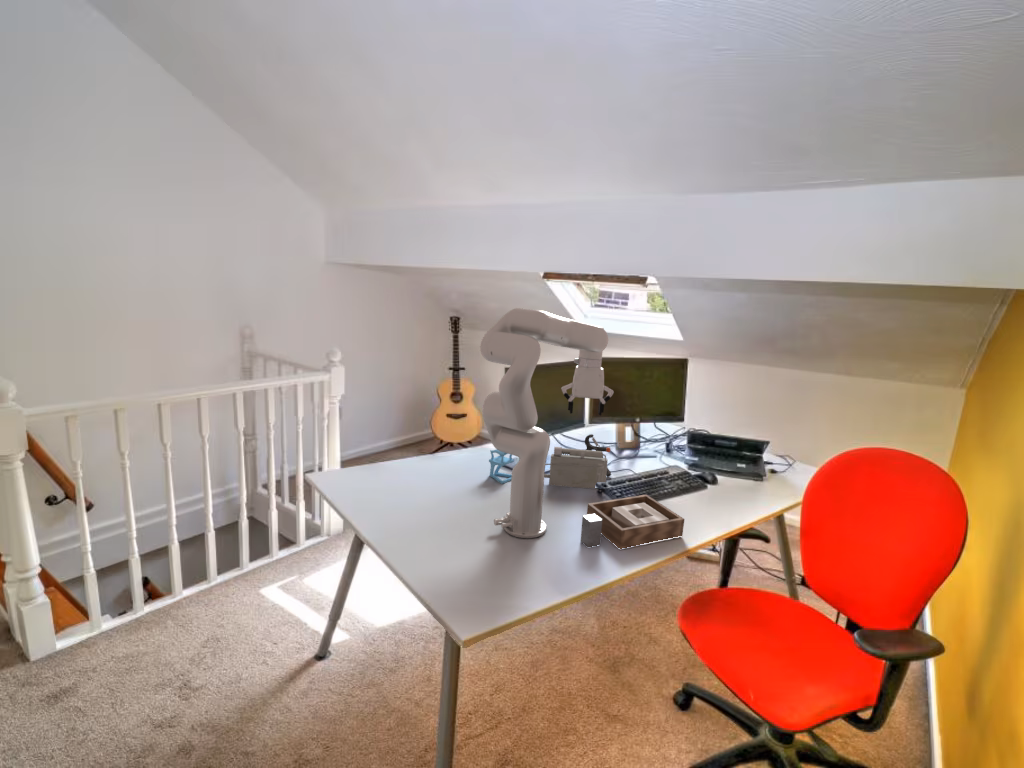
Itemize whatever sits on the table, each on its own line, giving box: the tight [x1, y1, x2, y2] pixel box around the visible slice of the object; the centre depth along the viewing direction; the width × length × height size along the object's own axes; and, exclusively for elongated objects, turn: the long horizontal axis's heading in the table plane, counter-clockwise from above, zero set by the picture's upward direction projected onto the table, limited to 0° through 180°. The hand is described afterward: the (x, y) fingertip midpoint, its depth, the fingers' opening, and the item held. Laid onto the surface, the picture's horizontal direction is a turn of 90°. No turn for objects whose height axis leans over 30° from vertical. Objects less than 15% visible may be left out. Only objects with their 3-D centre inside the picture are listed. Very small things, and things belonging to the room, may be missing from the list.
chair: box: [488, 448, 515, 485], centre depth 199 cm, size 8×8×12 cm
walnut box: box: [586, 494, 685, 549], centre depth 165 cm, size 22×18×6 cm
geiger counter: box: [544, 446, 608, 489], centre depth 195 cm, size 14×6×25 cm
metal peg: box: [580, 514, 602, 548], centre depth 155 cm, size 4×4×8 cm
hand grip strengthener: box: [584, 433, 612, 478], centre depth 207 cm, size 2×12×15 cm, turn 58°
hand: (585, 413), depth 184 cm, fingers open, 9 cm apart
